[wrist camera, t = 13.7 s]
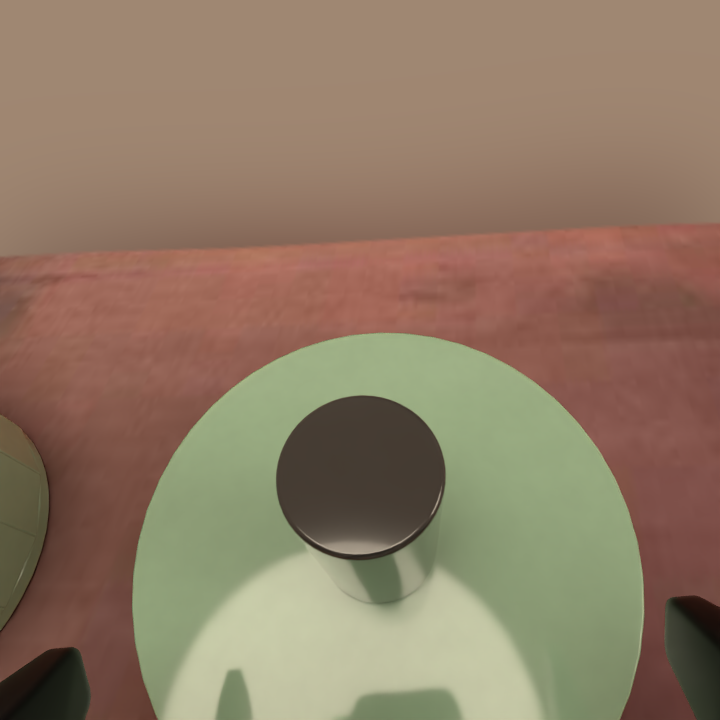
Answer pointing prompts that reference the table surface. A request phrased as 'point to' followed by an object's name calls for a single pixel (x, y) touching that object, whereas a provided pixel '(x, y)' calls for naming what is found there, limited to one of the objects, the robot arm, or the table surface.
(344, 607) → the lid
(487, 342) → the table surface
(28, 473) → the green round open container
